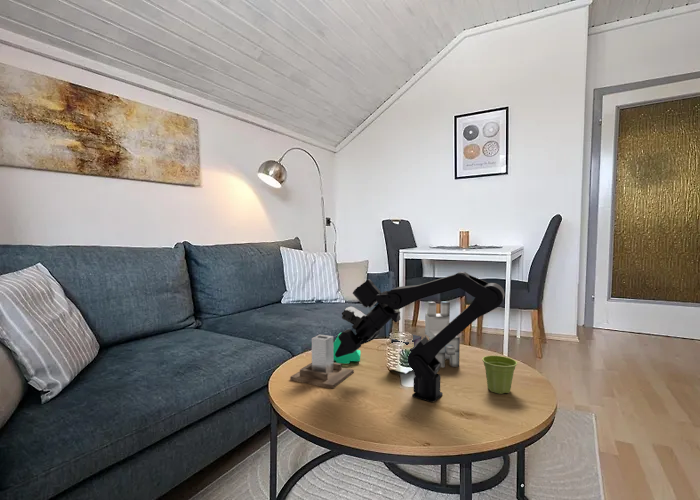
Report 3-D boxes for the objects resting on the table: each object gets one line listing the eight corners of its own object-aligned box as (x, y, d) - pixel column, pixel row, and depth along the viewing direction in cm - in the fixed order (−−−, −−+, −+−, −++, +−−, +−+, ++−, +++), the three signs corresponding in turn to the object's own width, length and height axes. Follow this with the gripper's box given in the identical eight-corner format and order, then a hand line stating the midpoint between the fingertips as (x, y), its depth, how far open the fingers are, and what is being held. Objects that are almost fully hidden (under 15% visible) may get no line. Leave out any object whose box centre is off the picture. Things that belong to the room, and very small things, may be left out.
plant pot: (485, 381, 118) (485, 353, 117) (518, 387, 113) (519, 358, 113) (478, 392, 110) (479, 362, 109) (514, 399, 105) (514, 368, 105)
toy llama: (440, 370, 127) (440, 310, 126) (424, 353, 145) (425, 300, 144) (462, 369, 128) (463, 309, 127) (444, 352, 145) (445, 300, 144)
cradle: (353, 372, 125) (353, 363, 125) (333, 388, 112) (333, 378, 112) (313, 365, 131) (313, 356, 131) (290, 379, 119) (290, 370, 119)
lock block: (333, 371, 123) (333, 335, 122) (325, 377, 118) (325, 339, 118) (319, 369, 125) (319, 333, 124) (311, 374, 120) (311, 337, 120)
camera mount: (360, 357, 141) (360, 329, 140) (359, 364, 133) (359, 335, 133) (328, 356, 142) (328, 328, 141) (325, 363, 134) (325, 334, 133)
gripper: (370, 294, 123) (340, 324, 129) (344, 304, 107) (310, 339, 112) (393, 320, 120) (361, 351, 126) (370, 335, 104) (334, 369, 109)
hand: (342, 351), depth 118 cm, fingers open, 9 cm apart
